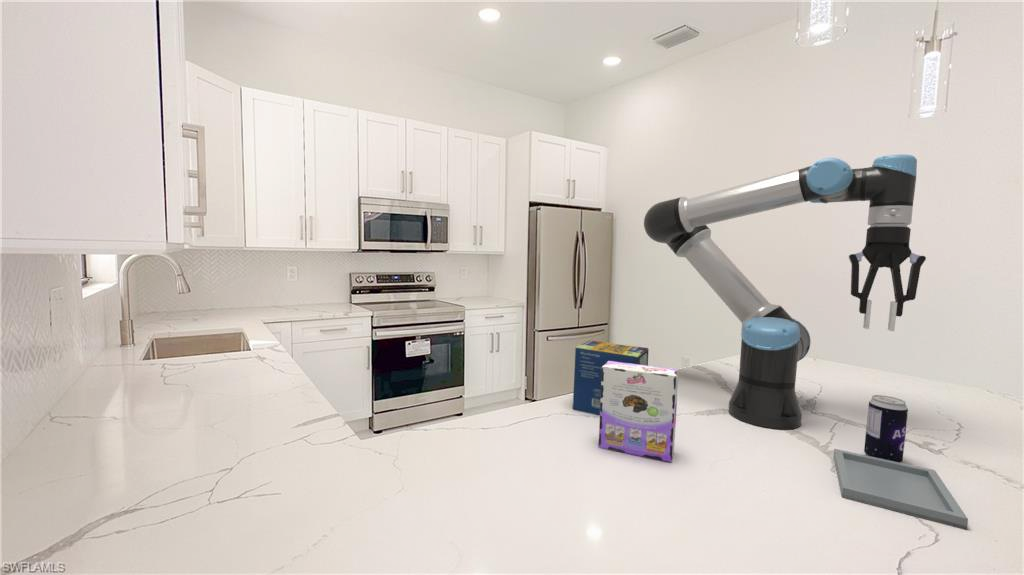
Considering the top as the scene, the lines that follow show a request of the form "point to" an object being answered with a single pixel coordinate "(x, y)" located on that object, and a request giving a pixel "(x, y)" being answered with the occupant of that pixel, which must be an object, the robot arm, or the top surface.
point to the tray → (897, 487)
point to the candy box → (638, 409)
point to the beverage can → (886, 428)
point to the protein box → (599, 370)
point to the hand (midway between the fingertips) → (878, 328)
